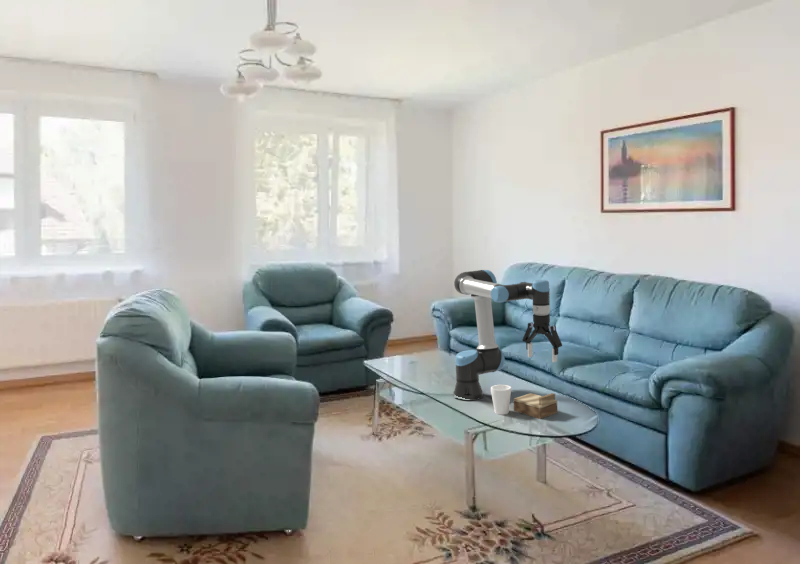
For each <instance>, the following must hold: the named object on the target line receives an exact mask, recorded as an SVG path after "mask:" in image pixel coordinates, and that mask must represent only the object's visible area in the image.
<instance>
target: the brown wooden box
mask: <svg viewBox="0 0 800 564" xmlns="http://www.w3.org/2000/svg"><path fill="white" fill-rule="evenodd" d="M513 411H514V412H516V413H519V414H523V415H526V416H529V417H532V418H535V419H539V420H541V419H544V418H546V417H550V416H552V415H556V414H557V413H558V402H557V403H555V404H552V405H549V406H546V407H543V408H540V409H539V408H536V407H533V406H529V405H526V404H523V403H519V402H516V401H514V400H513Z"/></svg>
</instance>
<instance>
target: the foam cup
mask: <svg viewBox="0 0 800 564" xmlns="http://www.w3.org/2000/svg"><path fill="white" fill-rule="evenodd" d="M511 393H512V386H510V385H508V384H495V385H492V386H490V394H491V398H492V405H493V410H494V413H495V414H496V415H501V416H502V415H503V416H505V415H508V414H509V412H510V404H511Z"/></svg>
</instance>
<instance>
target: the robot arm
mask: <svg viewBox="0 0 800 564" xmlns="http://www.w3.org/2000/svg"><path fill="white" fill-rule="evenodd" d="M453 282H454V284H453V286H454V289H455V290H456V292H458V293H459V294H460V295H466V296H469V295H470V297H471V298H472V299H473V300H474V308H475V318H476V327H477V336H478V346H477V347H476V349H469V350H467V349H466V350H463V351H460V352H458V353H457V354H456V355H455V360H454V361H455V362H454V363H455V380H456V381H455V388H454V391H453V395H454V394H455V395H456V396H458V397H462V398H465V399H476V400H479V399H478V398H480V399H481V397H482V398H483V397H484V395H483V394H484V392H483V389H482V386H481V384H480V380H479V379H480V376H479V375H483V374H489V373H495V372H498V371H500V370H502V369H503V367H504V365H505V355H504V354H505V353H504V351H503V350H502V349H500V347H499V345H498V344H497V343H496V337H495V335H496V334H495V325H494V317H493V316H494V315H493V308H492V306H493V305H492V301H493V302H494V303H505V302H511V301H512V302H513V301H519V300H532V313H533V314H532V321H531V322H527V328H526V330H525V333H524V334H523V338H522V342H525V344H526V345H525V346H526V351H527V358H532V357H533V355H534V353H533V339H534V338H535V337H536V336H537V334H538V335H544V336H545V337H546V338H547V340H548V341H549V343H550V344H551V345H552V348H551V361H552V363H556V362H558V355H559V348H561V347H563V343H562V341H561V339H560V336H559V333H558V331H557V327H556V324H555V325H550V321H551V315H550V313H551V307H550V294H551V293H550V289H551V288H550V281H548V280H547V279H534V280H533V281H532V283H531V282H527V281H519V282H517V283H513V284H502V283H501V284H500V283H498V282H497V278H496V276H495V274H494V273H493V272H492V271H491V270H489V269H479V270H478V269H477V270H473V271H472V270H471V271H463V272H461V273H459V274H458V275H457V276H455V278H454V281H453Z"/></svg>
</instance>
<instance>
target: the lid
mask: <svg viewBox="0 0 800 564" xmlns="http://www.w3.org/2000/svg"><path fill="white" fill-rule="evenodd" d="M514 401H516V402H519V403H523V404H526V405H529V406H533V407H536V408H539V409H540V408H543V407H546V406H549V405H552V404H555V403H557V404H558V400H557V399H556V393H548V394H546V395H538V394H535V393H531V392H530V393H527V394H523V395H521V396H517V397H514V398H513V402H514Z"/></svg>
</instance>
